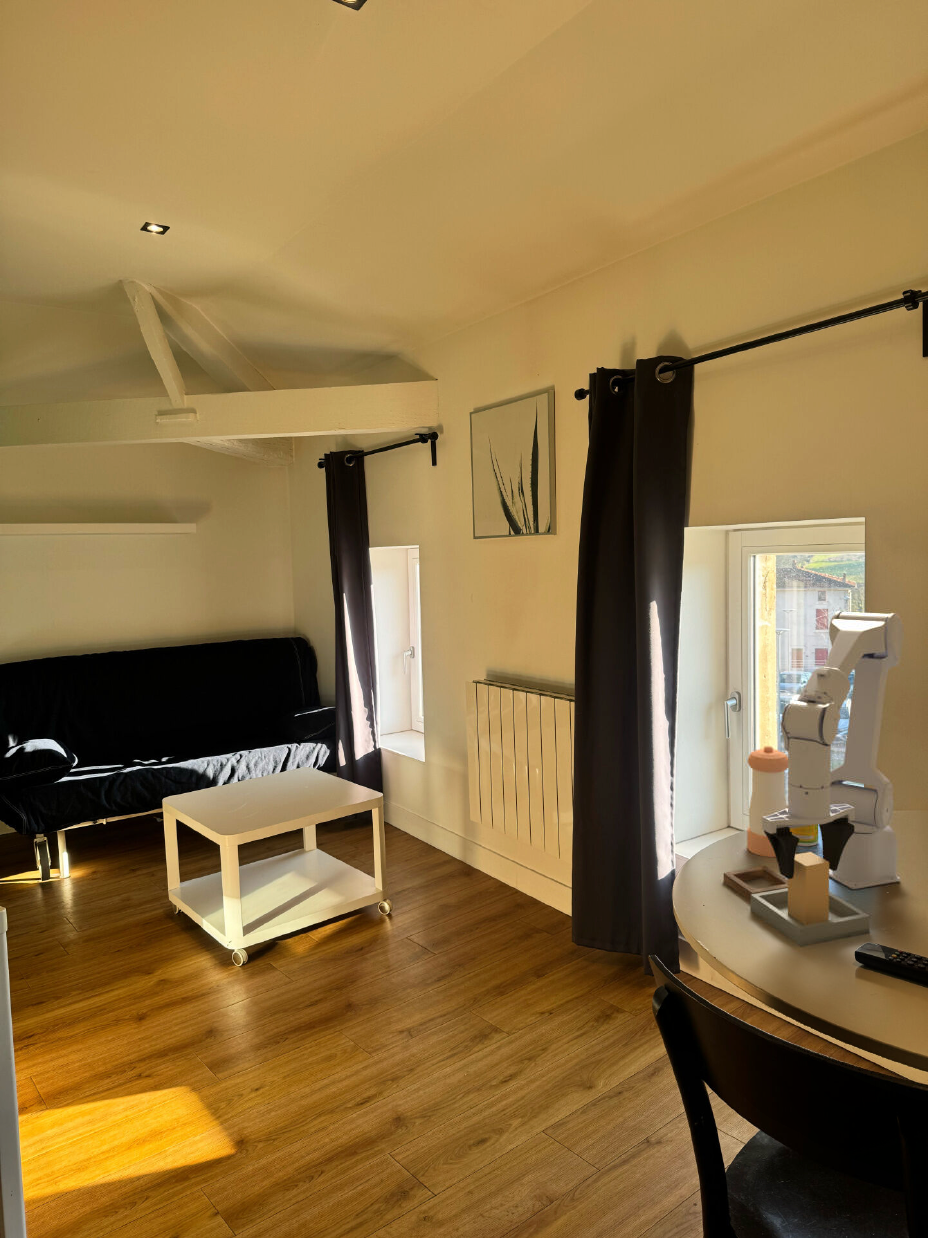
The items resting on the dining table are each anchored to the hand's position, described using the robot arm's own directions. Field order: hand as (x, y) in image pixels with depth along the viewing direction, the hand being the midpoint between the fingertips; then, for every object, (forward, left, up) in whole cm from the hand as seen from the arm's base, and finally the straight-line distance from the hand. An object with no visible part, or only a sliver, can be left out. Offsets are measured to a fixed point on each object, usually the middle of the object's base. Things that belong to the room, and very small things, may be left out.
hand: (808, 872), depth 121 cm
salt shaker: (-11, -25, -8) cm, 28 cm away
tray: (0, 0, -8) cm, 8 cm away
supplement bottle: (-19, -26, -8) cm, 33 cm away
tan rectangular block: (0, 0, -7) cm, 7 cm away
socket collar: (0, -12, -8) cm, 14 cm away
